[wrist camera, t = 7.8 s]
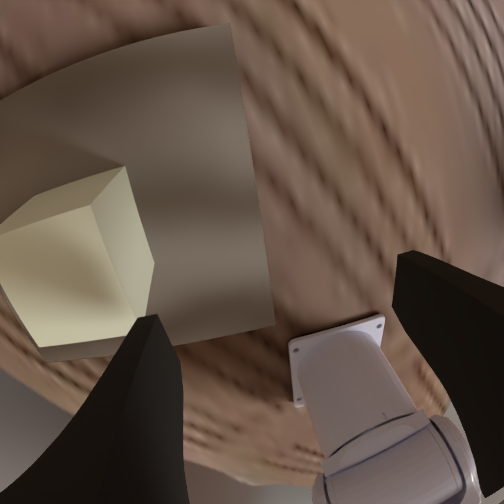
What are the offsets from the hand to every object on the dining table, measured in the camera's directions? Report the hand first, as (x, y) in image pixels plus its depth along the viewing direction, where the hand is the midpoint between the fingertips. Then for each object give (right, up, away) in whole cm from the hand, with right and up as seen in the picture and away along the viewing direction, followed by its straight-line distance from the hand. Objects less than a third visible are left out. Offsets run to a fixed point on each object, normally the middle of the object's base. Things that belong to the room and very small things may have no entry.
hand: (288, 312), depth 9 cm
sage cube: (-9, +3, +5) cm, 10 cm away
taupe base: (-9, +4, +7) cm, 12 cm away
